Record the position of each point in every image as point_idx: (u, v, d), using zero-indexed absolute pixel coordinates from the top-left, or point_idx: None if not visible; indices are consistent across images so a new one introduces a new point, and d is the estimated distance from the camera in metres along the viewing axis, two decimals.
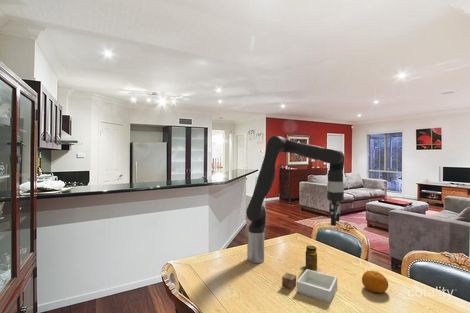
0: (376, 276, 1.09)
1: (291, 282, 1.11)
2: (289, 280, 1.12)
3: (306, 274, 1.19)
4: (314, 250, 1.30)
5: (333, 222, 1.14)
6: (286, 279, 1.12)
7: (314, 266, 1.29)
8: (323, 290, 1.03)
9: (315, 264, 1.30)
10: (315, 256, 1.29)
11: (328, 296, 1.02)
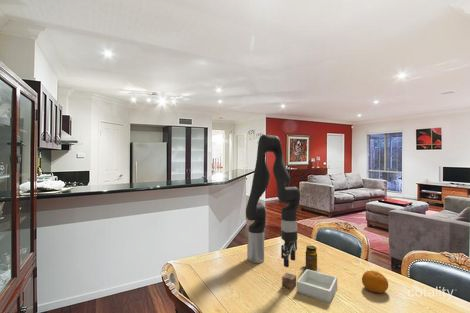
0: (376, 276, 1.09)
1: (291, 282, 1.11)
2: (289, 280, 1.12)
3: (306, 274, 1.19)
4: (314, 250, 1.30)
5: (285, 263, 1.10)
6: (286, 279, 1.12)
7: (314, 266, 1.29)
8: (323, 290, 1.03)
9: (315, 264, 1.30)
10: (315, 256, 1.29)
11: (328, 296, 1.02)
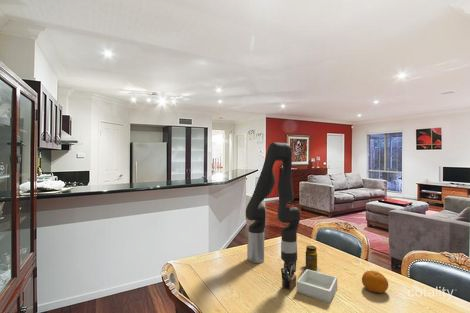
0: (376, 276, 1.09)
1: (291, 282, 1.11)
2: None
3: (306, 274, 1.19)
4: (314, 250, 1.30)
5: (286, 285, 1.11)
6: None
7: (314, 266, 1.29)
8: (323, 290, 1.03)
9: (315, 264, 1.30)
10: (315, 256, 1.29)
11: (328, 296, 1.02)
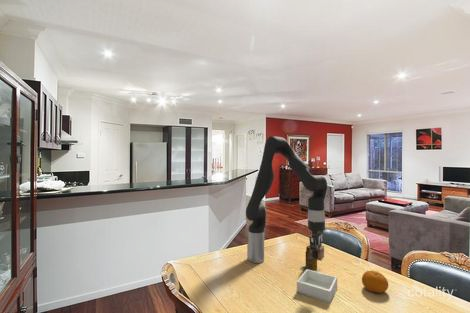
0: (376, 276, 1.09)
1: (319, 252, 1.08)
2: None
3: (306, 274, 1.19)
4: None
5: (314, 255, 1.08)
6: None
7: (314, 266, 1.29)
8: (323, 290, 1.03)
9: (315, 264, 1.30)
10: None
11: (328, 296, 1.02)
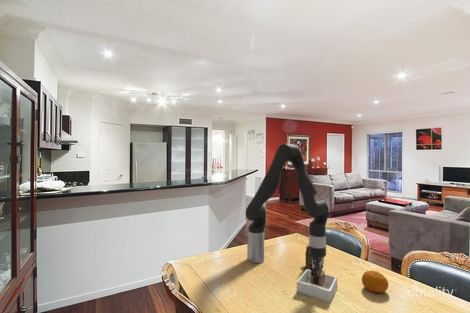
0: (376, 276, 1.09)
1: (320, 278, 1.08)
2: None
3: (306, 274, 1.19)
4: None
5: (315, 281, 1.08)
6: None
7: None
8: (323, 290, 1.03)
9: None
10: None
11: (328, 296, 1.02)
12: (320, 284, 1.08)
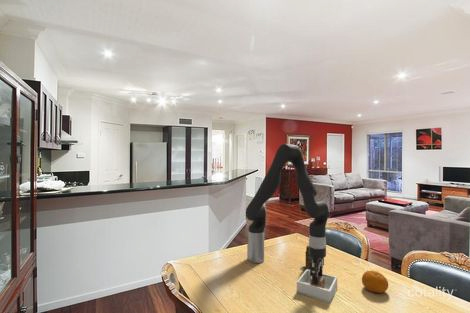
0: (376, 276, 1.09)
1: (320, 284, 1.08)
2: (318, 281, 1.08)
3: (306, 274, 1.19)
4: None
5: (314, 281, 1.07)
6: None
7: None
8: (323, 290, 1.03)
9: None
10: None
11: (328, 296, 1.02)
12: None
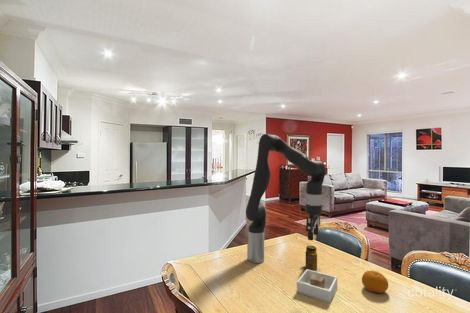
0: (376, 276, 1.09)
1: (320, 284, 1.08)
2: (318, 281, 1.08)
3: (306, 274, 1.19)
4: (314, 250, 1.30)
5: (310, 237, 1.10)
6: (315, 281, 1.09)
7: (314, 266, 1.29)
8: (323, 290, 1.03)
9: (315, 264, 1.30)
10: (315, 256, 1.29)
11: (328, 296, 1.02)
12: None
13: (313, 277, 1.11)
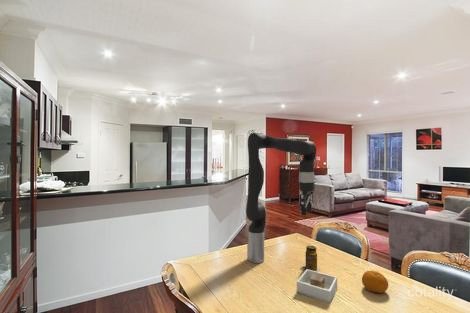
0: (376, 276, 1.09)
1: (320, 284, 1.08)
2: (318, 281, 1.08)
3: (306, 274, 1.19)
4: (314, 250, 1.30)
5: (303, 212, 1.16)
6: (315, 281, 1.09)
7: (314, 266, 1.29)
8: (323, 290, 1.03)
9: (315, 264, 1.30)
10: (315, 256, 1.29)
11: (328, 296, 1.02)
12: None
13: (313, 277, 1.11)
